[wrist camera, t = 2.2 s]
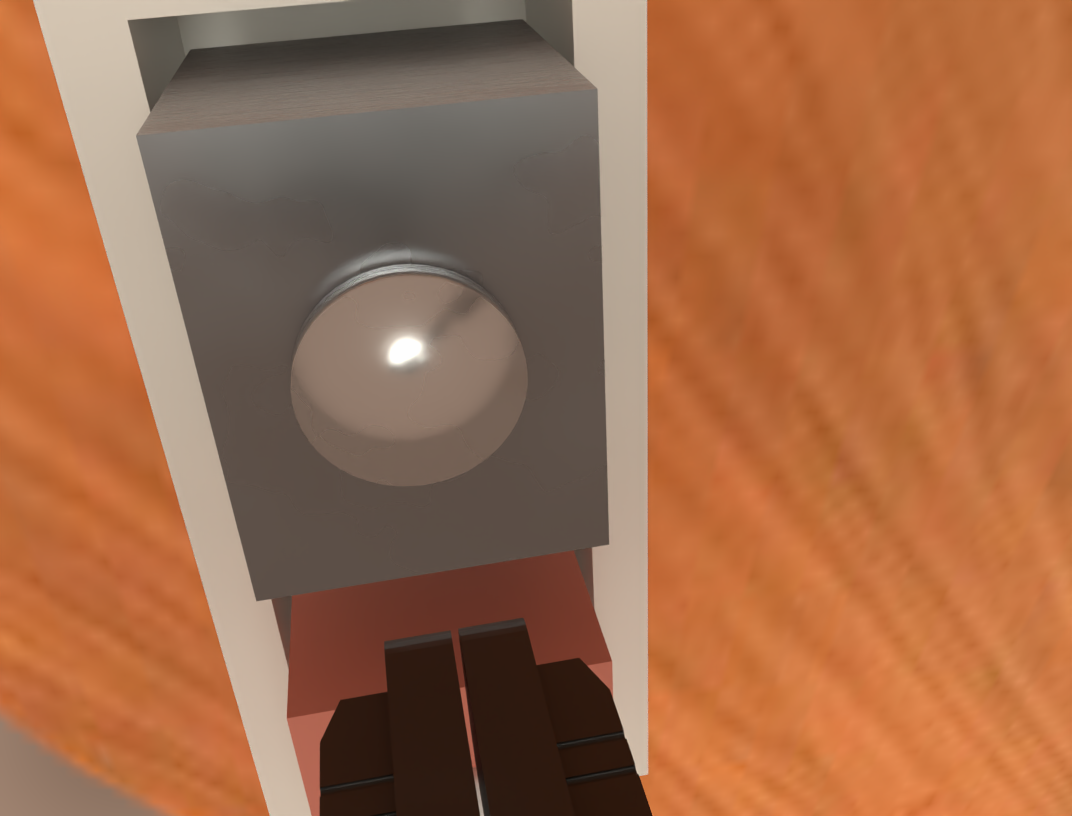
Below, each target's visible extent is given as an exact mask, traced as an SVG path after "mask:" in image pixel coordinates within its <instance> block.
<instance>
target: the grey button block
mask: <svg viewBox="0 0 1072 816" xmlns="http://www.w3.org/2000/svg"><path fill="white" fill-rule="evenodd" d="M136 138H137V142H138V146H139V150H140V153H141V157H142V161H143V165H144V169H145V173H146V177H147V180H148V184H149V188H150V192H151V196H152V200H153V204H154V208H155V211H156V215H157V219H158V223H159V227H160V231H161V235H162V239H163V242H164V246H165V250H166V254H167V258H168V262H169V266H170V269H171V273H172V277H173V281H174V285H175V289H176V293H177V297H178V300H179V304H180V308H181V312H182V316H183V320H184V324H185V327H186V331H187V335H188V339H189V343H190V347H191V351H192V355H193V358H194V362H195V366H196V370H197V374H198V378H199V382H200V386H201V389H202V393H203V397H204V401H205V405H206V409H207V413H208V416H209V420H210V424H211V428H212V432H213V436H214V440H215V444H216V447H217V451H218V455H219V459H220V463H221V467H222V471H223V475H224V478H225V482H226V486H227V490H228V494H229V498H230V502H231V505H232V509H233V513H234V517H235V521H236V525H237V529H238V533H239V536H240V540H241V544H242V548H243V552H244V556H245V560H246V563H247V567H248V571H249V575H250V579H251V583H252V587H253V591H254V594H255V598H256V601H262V600H268V599H275V598H281V597H287V596H293V595H300V594H306V593H312V592H318V591H324V590H331V589H337V588H343V587H349V586H355V585H362V584H368V583H374V582H380V581H387V580H393V579H399V578H405V577H411V576H418V575H424V574H430V573H436V572H442V571H449V570H455V569H461V568H467V567H474V566H480V565H486V564H492V563H498V562H505V561H511V560H517V559H523V558H530V557H536V556H542V555H548V554H554V553H561V552H567V551H573V550H579V549H585V548H592V547H598V546H604V545H609V516H608V477H607V438H606V399H605V360H604V321H603V282H602V243H601V204H600V165H599V126H598V89H597V88H596V87H595V86H594V85H593V84H592V83H591V82H590V81H589V80H588V79H587V78H585V77H584V76H583V75H582V74H581V73H580V72H579V71H578V70H577V69H576V68H575V67H574V66H573V65H571V64H570V63H569V62H568V61H567V60H566V59H565V58H564V57H563V56H562V55H561V54H560V53H559V52H557V51H556V50H555V49H554V48H553V47H552V46H551V45H550V44H549V43H548V42H547V41H546V40H545V39H543V38H542V37H541V36H540V35H539V34H538V33H537V32H536V31H535V30H534V29H533V28H532V27H531V26H529V25H528V24H527V23H526V22H525V21H524V20H523V19H517V20H506V21H495V22H484V23H474V24H463V25H452V26H441V27H430V28H419V29H408V30H397V31H386V32H375V33H364V34H353V35H342V36H331V37H321V38H310V39H299V40H288V41H277V42H266V43H255V44H244V45H233V46H222V47H211V48H200V49H190V51H189V52H188V54H187V56H186V57H185V59H184V60H183V62H182V64H181V65H180V67H179V68H178V70H177V71H176V73H175V75H174V76H173V78H172V79H171V81H170V82H169V84H168V86H167V87H166V89H165V90H164V92H163V94H162V95H161V97H160V98H159V100H158V101H157V103H156V105H155V106H154V108H153V109H152V111H151V112H150V114H149V116H148V117H147V119H146V120H145V122H144V124H143V125H142V127H141V128H140V130H139V131H138V133H137V135H136Z"/></svg>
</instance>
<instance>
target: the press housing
mask: <svg viewBox="0 0 1072 816" xmlns="http://www.w3.org/2000/svg"><path fill="white" fill-rule="evenodd" d="M33 2H34V5H35V9H36V12H37V16H38V19H39V22H40V26H41V29H42V33H43V36H44V40H45V43H46V47H47V50H48V53H49V57H50V60H51V64H52V67H53V71H54V74H55V78H56V81H57V84H58V88H59V91H60V95H61V98H62V102H63V105H64V109H65V112H66V115H67V119H68V122H69V126H70V129H71V133H72V136H73V139H74V143H75V146H76V150H77V153H78V157H79V160H80V164H81V167H82V170H83V174H84V177H85V181H86V184H87V188H88V191H89V195H90V198H91V201H92V205H93V208H94V212H95V215H96V219H97V222H98V226H99V229H100V232H101V236H102V239H103V243H104V246H105V250H106V253H107V257H108V260H109V263H110V267H111V270H112V274H113V277H114V281H115V284H116V288H117V291H118V294H119V298H120V301H121V305H122V308H123V312H124V315H125V319H126V322H127V325H128V329H129V332H130V336H131V339H132V343H133V346H134V350H135V353H136V356H137V360H138V363H139V367H140V370H141V374H142V377H143V380H144V384H145V387H146V391H147V394H148V398H149V401H150V405H151V408H152V411H153V415H154V418H155V422H156V425H157V429H158V432H159V436H160V439H161V442H162V446H163V449H164V453H165V456H166V460H167V463H168V467H169V470H170V473H171V477H172V480H173V484H174V487H175V491H176V494H177V498H178V501H179V504H180V508H181V511H182V515H183V518H184V522H185V525H186V529H187V532H188V535H189V539H190V542H191V546H192V549H193V553H194V556H195V560H196V563H197V566H198V570H199V573H200V577H201V580H202V584H203V587H204V591H205V594H206V597H207V601H208V604H209V608H210V611H211V615H212V618H213V622H214V625H215V628H216V632H217V635H218V639H219V642H220V646H221V649H222V652H223V656H224V659H225V663H226V666H227V670H228V673H229V677H230V680H231V683H232V687H233V690H234V694H235V697H236V701H237V704H238V708H239V711H240V714H241V718H242V721H243V725H244V728H245V732H246V735H247V739H248V742H249V745H250V749H251V752H252V756H253V759H254V763H255V766H256V770H257V773H258V776H259V780H260V783H261V787H262V790H263V794H264V797H265V801H266V804H267V807H268V811H269V814H270V816H312V815H311V811H310V807H309V803H308V799H307V796H306V792H305V788H304V784H303V780H302V776H301V772H300V769H299V765H298V761H297V757H296V753H295V749H294V745H293V741H292V738H291V734H290V730H289V726H288V722H287V698H288V675H289V652H290V630H291V607H292V596H287V597H281V598H275V599H268V600H262V601H256V598H255V594H254V591H253V587H252V583H251V579H250V575H249V571H248V567H247V563H246V560H245V556H244V552H243V548H242V544H241V540H240V536H239V533H238V529H237V525H236V521H235V517H234V513H233V509H232V505H231V502H230V498H229V494H228V490H227V486H226V482H225V478H224V475H223V471H222V467H221V463H220V459H219V455H218V451H217V447H216V444H215V440H214V436H213V432H212V428H211V424H210V420H209V416H208V413H207V409H206V405H205V401H204V397H203V393H202V389H201V386H200V382H199V378H198V374H197V370H196V366H195V362H194V358H193V355H192V351H191V347H190V343H189V339H188V335H187V331H186V327H185V324H184V320H183V316H182V312H181V308H180V304H179V300H178V297H177V293H176V289H175V285H174V281H173V277H172V273H171V269H170V266H169V262H168V258H167V254H166V250H165V246H164V242H163V239H162V235H161V231H160V227H159V223H158V219H157V215H156V211H155V208H154V204H153V200H152V196H151V192H150V188H149V184H148V180H147V177H146V173H145V169H144V165H143V161H142V157H141V153H140V150H139V146H138V142H137V138H136V135H137V133H138V131H139V130H140V128H141V127H142V125H143V124H144V122H145V120H146V119H147V117H148V116H149V114H150V112H151V111H152V109H153V108H154V106H155V105H156V103H157V101H158V100H159V98H160V97H161V95H162V94H163V92H164V90H165V89H166V87H167V86H168V84H169V82H170V81H171V79H172V78H173V76H174V75H175V73H176V71H177V70H178V68H179V67H180V65H181V64H182V62H183V60H184V59H185V57H186V56H187V54H188V52H189V51H190V49H200V48H211V47H222V46H233V45H244V44H255V43H266V42H277V41H288V40H299V39H310V38H321V37H331V36H342V35H353V34H364V33H375V32H386V31H397V30H408V29H419V28H430V27H441V26H452V25H463V24H474V23H484V22H495V21H506V20H517V19H523V20H524V21H525V22H526V23H527V24H528V25H529V26H531V27H532V28H533V29H534V30H535V31H536V32H537V33H538V34H539V35H540V36H541V37H542V38H543V39H545V40H546V41H547V42H548V43H549V44H550V45H551V46H552V47H553V48H554V49H555V50H556V51H557V52H559V53H560V54H561V55H562V56H563V57H564V58H565V59H566V60H567V61H568V62H569V63H570V64H571V65H573V66H574V67H575V68H576V69H577V70H578V71H579V72H580V73H581V74H582V75H583V76H584V77H585V78H587V79H588V80H589V81H590V82H591V83H592V84H593V85H594V86H595V87H596V88H597V89H598V126H599V165H600V204H601V243H602V282H603V321H604V360H605V399H606V438H607V477H608V516H609V545H604V546H598V547H592V548H585V549H579V550H574V553H575V555H576V558H577V561H578V564H579V567H580V570H581V573H582V576H583V579H584V581H585V584H586V587H587V590H588V593H589V596H590V599H591V602H592V604H593V607H594V610H595V613H596V616H597V619H598V622H599V625H600V627H601V630H602V633H603V636H604V639H605V642H606V645H607V648H608V650H609V653H610V656H611V659H612V672H613V700H614V703H615V706H616V709H617V712H618V715H619V718H620V721H621V724H622V727H623V730H624V735H625V739H627V742H628V744H629V747H630V750H631V753H632V756H633V759H634V762H635V767H636V772H637V774H639V776H642V775H647V774H648V351H647V0H33Z"/></svg>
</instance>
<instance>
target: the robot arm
mask: <svg viewBox="0 0 1072 816" xmlns="http://www.w3.org/2000/svg"><path fill="white" fill-rule="evenodd" d="M458 634H459V643H460V650H461V658H462V666H463V674H464V682H465V689H466V697H467V705H468V713H469V721H470V728H471V736H472V743H473V750H474V757H475V763H476V770H477V777H478V783H479V789H480V795H481V801H482V807H483V814H484V816H652V813H651V810H650V807H649V804H648V801H647V798H646V795H645V792H644V789H643V786H642V783H641V780H640V777H639V774H637V772H636V767H635V762H634V759H633V756H632V753H631V750H630V747H629V744H628V742H627V739H625V735H624V730H623V727H622V724H621V721H620V718H619V715H618V712H617V709H616V706H615V703H614V700H613V697H612V694H611V691H610V689H609V688H608V687H607V686H606V685H605V684H604V683H603V682H602V681H601V680H600V679H599V678H598V677H597V675H596V674H595V673H594V672H593V671H592V670H591V669H590V668H589V667H588V666H587V665H586V664H585V663H584V662H583V661H582V660H581V659H580V658H574V659H569V660H563V661H557V662H552V663H546V664H540V665H536V661H535V657H534V654H533V650H532V646H531V642H530V638H529V634H528V630H527V627H526V623H525V620H524V618H518V619H512V620H506V621H500V622H494V623H488V624H482V625H476V626H470V627H464V628H458ZM384 653H385V666H386V680H387V692H383V693H377V694H371V695H366V696H360V697H354V698H349V699H343V700H340V702H339V704H338V706H337V708H336V710H335V712H334V714H333V716H332V718H331V720H330V722H329V724H328V726H327V729H326V731H325V733H324V735H323V737H322V739H321V741H320V795H321V797H320V816H480V811H479V805H478V799H477V792H476V786H475V780H474V773H473V767H472V761H471V755H470V748H469V742H468V736H467V730H466V723H465V717H464V711H463V705H462V698H461V692H460V686H459V680H458V673H457V667H456V661H455V654H454V648H453V642H452V636H451V631H450V630H449V631H443V632H437V633H431V634H425V635H419V636H413V637H407V638H401V639H395V640H389V641H384Z"/></svg>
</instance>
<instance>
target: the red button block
mask: <svg viewBox="0 0 1072 816" xmlns="http://www.w3.org/2000/svg"><path fill="white" fill-rule="evenodd" d="M518 618H524V620H525V623H526V627H527V630H528V634H529V638H530V642H531V646H532V650H533V654H534V657H535V661H536V665H540V664H546V663H552V662H557V661H563V660H569V659H574V658H580V659H581V660H582V661H583V662H584V663H585V664H586V665H587V666H588V667H589V668H590V669H591V670H592V671H593V672H594V673H595V674H596V675H597V677H598V678H599V679H600V680H601V681H602V682H603V683H604V684H605V685H606V686H607V687H608V688H609V689H610V691H611V694H612V697H613V672H612V659H611V656H610V653H609V650H608V648H607V645H606V642H605V639H604V636H603V633H602V630H601V627H600V625H599V622H598V619H597V616H596V613H595V610H594V607H593V604H592V602H591V599H590V596H589V593H588V590H587V587H586V584H585V581H584V579H583V576H582V573H581V570H580V567H579V564H578V561H577V558H576V555H575V553H574V550H573V551H567V552H561V553H554V554H548V555H542V556H536V557H530V558H523V559H517V560H511V561H505V562H498V563H492V564H486V565H480V566H474V567H467V568H461V569H455V570H449V571H442V572H436V573H430V574H424V575H418V576H411V577H405V578H399V579H393V580H387V581H380V582H374V583H368V584H362V585H355V586H349V587H343V588H337V589H331V590H324V591H318V592H312V593H306V594H300V595H293V596H292V607H291V630H290V652H289V675H288V698H287V722H288V726H289V730H290V734H291V738H292V741H293V745H294V749H295V753H296V757H297V761H298V765H299V769H300V772H301V776H302V780H303V784H304V788H305V792H306V796H307V799H308V803H309V807H310V811H311V815H312V816H320V797H321V795H320V741H321V739H322V737H323V735H324V733H325V731H326V729H327V726H328V724H329V722H330V720H331V718H332V716H333V714H334V712H335V710H336V708H337V706H338V704H339V702H340V700H343V699H349V698H354V697H360V696H366V695H371V694H377V693H383V692H387V680H386V666H385V653H384V641H389V640H395V639H401V638H407V637H413V636H419V635H425V634H431V633H437V632H443V631H449V630H450V631H451V636H452V642H453V648H454V654H455V661H456V667H457V673H458V680H459V686H460V692H461V698H462V705H463V711H464V717H465V723H466V730H467V736H468V742H469V748H470V755H471V761H472V767H473V773H474V780H475V786H476V792H477V799H478V805H479V811H480V816H484V814H483V807H482V801H481V795H480V789H479V783H478V777H477V770H476V763H475V757H474V750H473V743H472V736H471V728H470V721H469V713H468V705H467V697H466V689H465V682H464V674H463V666H462V658H461V650H460V643H459V634H458V628H464V627H470V626H476V625H482V624H488V623H494V622H500V621H506V620H512V619H518Z"/></svg>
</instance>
